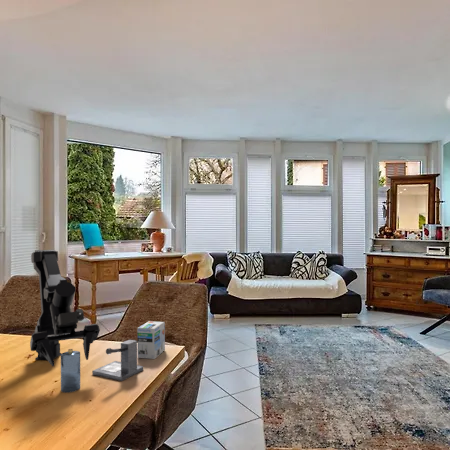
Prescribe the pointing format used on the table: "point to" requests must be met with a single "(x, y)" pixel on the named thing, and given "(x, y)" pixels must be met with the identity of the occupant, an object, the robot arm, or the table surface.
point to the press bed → (121, 363)
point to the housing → (70, 371)
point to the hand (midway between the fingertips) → (70, 362)
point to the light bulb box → (151, 339)
